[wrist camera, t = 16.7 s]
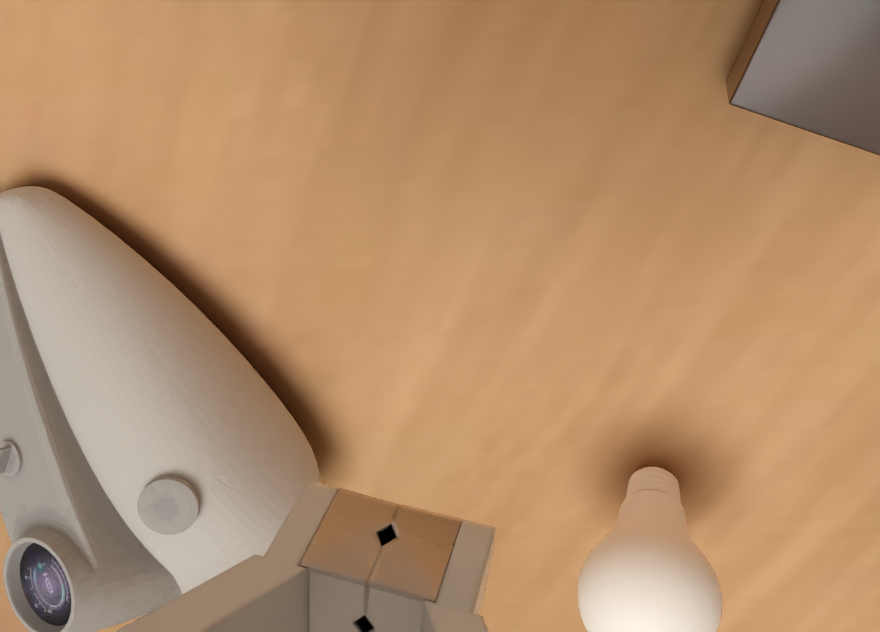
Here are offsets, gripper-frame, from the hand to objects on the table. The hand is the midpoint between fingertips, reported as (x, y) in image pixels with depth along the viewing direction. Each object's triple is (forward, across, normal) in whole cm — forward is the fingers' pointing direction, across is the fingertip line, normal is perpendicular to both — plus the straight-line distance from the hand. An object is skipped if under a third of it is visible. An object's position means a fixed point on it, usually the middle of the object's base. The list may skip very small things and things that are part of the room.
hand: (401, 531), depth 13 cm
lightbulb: (+25, -7, +19) cm, 33 cm away
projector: (+25, +22, +20) cm, 39 cm away
